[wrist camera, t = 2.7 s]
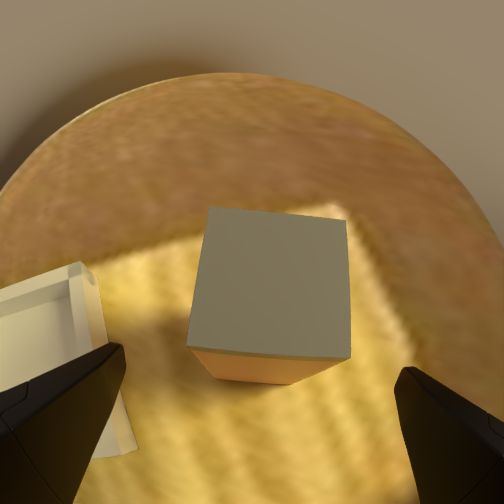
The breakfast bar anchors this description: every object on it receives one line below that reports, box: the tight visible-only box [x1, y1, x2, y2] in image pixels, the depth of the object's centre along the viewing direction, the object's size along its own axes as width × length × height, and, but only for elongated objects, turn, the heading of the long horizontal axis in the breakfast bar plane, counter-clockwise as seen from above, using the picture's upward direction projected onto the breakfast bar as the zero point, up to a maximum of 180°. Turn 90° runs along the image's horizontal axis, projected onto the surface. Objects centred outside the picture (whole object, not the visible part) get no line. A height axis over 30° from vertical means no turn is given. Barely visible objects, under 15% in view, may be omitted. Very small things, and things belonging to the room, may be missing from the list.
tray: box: [0, 261, 139, 459], centre depth 15 cm, size 12×12×3 cm
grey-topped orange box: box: [186, 207, 351, 385], centre depth 14 cm, size 5×5×11 cm
